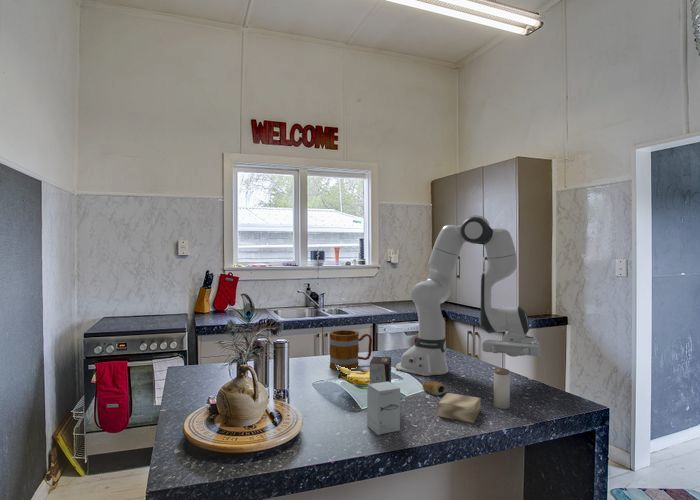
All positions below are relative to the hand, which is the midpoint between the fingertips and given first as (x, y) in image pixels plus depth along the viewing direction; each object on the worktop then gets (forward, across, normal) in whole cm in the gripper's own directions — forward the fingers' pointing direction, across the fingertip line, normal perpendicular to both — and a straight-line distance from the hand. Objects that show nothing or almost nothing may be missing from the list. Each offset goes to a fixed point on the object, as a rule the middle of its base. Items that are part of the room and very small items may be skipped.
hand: (508, 352), depth 153 cm
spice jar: (+12, -1, +16) cm, 20 cm away
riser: (+25, -12, +15) cm, 32 cm away
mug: (-7, -68, +14) cm, 70 cm away
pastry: (+9, -25, +15) cm, 31 cm away
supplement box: (+47, -29, +15) cm, 57 cm away
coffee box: (+33, -36, +15) cm, 51 cm away
